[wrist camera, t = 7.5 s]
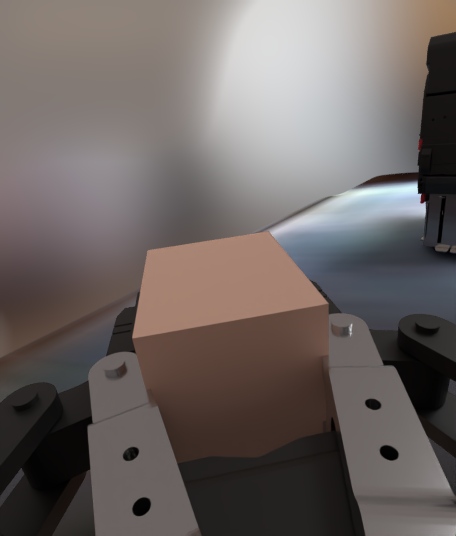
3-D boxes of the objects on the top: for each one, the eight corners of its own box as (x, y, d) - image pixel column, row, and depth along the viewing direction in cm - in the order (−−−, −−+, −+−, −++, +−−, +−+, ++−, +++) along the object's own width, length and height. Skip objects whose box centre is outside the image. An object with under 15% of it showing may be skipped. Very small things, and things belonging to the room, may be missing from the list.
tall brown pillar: (207, 520, 17) (147, 250, 12) (288, 502, 18) (268, 231, 12) (220, 666, 13) (132, 338, 7) (328, 638, 13) (328, 303, 7)
